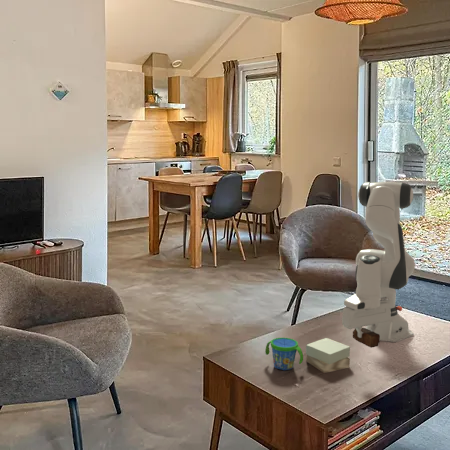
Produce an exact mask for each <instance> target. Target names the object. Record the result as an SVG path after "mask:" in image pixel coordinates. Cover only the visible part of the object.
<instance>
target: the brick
mask: <svg viewBox="0 0 450 450" xmlns="http://www.w3.org/2000/svg"><path fill="white" fill-rule="evenodd" d="M361 331H362V332H363V333H364V337H362V338H359V337H358V332H357V330H356V328H354V330H353V331H352V338H353V339H354V340H355V341H356V342H358V343H360V344H363V345H365V346H366V347H369V348H377V347H379V345H380V342H381V340H380V339H379V338H380V335H379V334H377V333H375V332H373V331H370V330H368V329H366V327H362V329H361Z"/></svg>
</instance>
